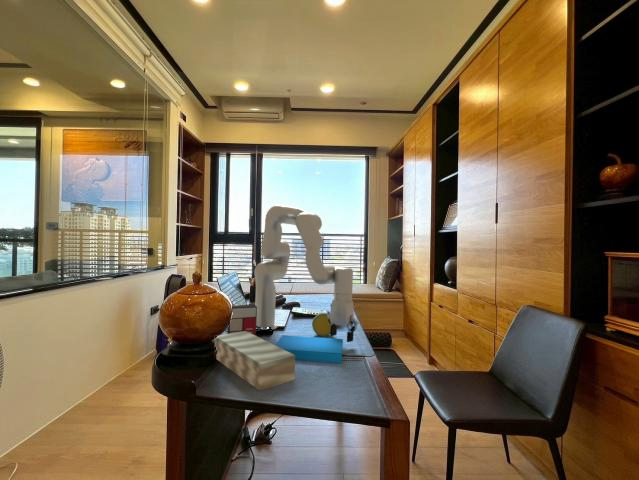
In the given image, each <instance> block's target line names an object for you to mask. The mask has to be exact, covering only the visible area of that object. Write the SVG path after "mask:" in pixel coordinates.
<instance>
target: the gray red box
mask: <svg viewBox="0 0 639 480" xmlns="http://www.w3.org/2000/svg"><path fill="white" fill-rule="evenodd" d="M231 306H232V309H233V315H232V319H231V323H230V325H229V327H228V326H227V329H226V332H227V333H226V334H231V333H237V332H242V331H247V332H249V333H251V334H253V335H255V336H257V330H256V320H257V306H255V304H241V305H231Z"/></svg>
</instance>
